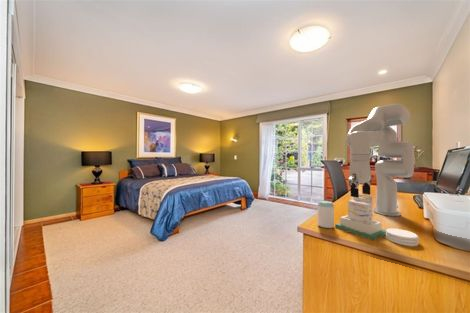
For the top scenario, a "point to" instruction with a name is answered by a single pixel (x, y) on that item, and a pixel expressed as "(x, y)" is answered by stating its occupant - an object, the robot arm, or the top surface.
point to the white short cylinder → (402, 237)
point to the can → (325, 214)
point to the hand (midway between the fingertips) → (360, 195)
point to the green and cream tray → (361, 228)
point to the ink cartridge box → (360, 209)
